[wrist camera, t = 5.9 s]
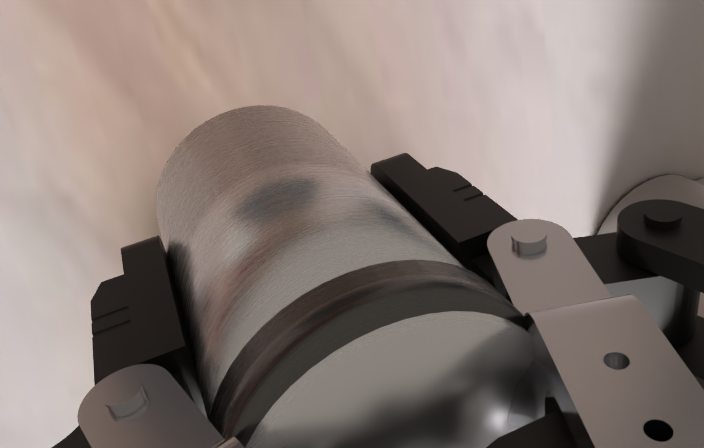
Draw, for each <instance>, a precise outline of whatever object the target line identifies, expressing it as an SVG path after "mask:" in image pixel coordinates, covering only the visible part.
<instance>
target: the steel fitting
mask: <svg viewBox="0 0 704 448" xmlns="http://www.w3.org/2000/svg"><path fill="white" fill-rule="evenodd" d="M156 213H157V220H158V225H159V229H160V233H161V237H162V241H163V245H164V248H165V250H166V253H167V257H168V261H169V264H170V268H171V272H172V276H173V280H174V284H175V288H176V292H177V296H178V300H179V304H180V308H181V312H182V315H183V319H184V323H185V327H186V331H187V335H188V339H189V343H190V347H191V351H192V355H193V359H194V363H195V366H196V370H197V374H198V379H199V387H200V391H201V395H202V399H203V403H204V407H205V411H206V415H207V419H208V420H209V421H210V423H211V424H212V425H213V426H214V427H215V429H216V430H217V431H218V432H219V433H220V435H221V436H222V437H223V438H224V439H225V440H226V439H227V438H228V437H230V436H233V437H235V438H236V439H237V440H238V441H239V442H240V443H241V444H242V445H243V446H244V447H245V448H486V447H487V446H488V445H490V444H491V443H492V442H493V441H495V440H496V439H497V438H499V437H501V436H503V435H505V434H507V433H509V432H512V431H514V430H516V429H518V428H520V427H522V426H525V425H527V424H529V423H531V422H533V421H535V397H534V369H533V341H532V336H531V335H530V334H529V333H528V331H527V320H526V319H525V318H524V315H523V314H522V313H521V312H520V311H519V310H518V309H517V308H516V307H515V306H514V305H513V304H512V303H511V302H510V301H509V300H508V299H507V298H506V297H505V296H504V295H503V294H501V293H500V292H499V291H498V290H497V289H496V288H495V287H494V286H493V285H492V284H490V283H489V282H488V281H487V280H486V279H484V278H482V277H481V276H479V275H477V274H476V273H474V272H472V271H470V270H467V269H466V268H465V267H464V266H463V265H462V264H461V263H460V262H459V261H458V260H457V259H456V258H455V257H454V256H453V255H452V254H451V253H450V252H449V251H448V250H447V249H446V248H445V247H444V246H443V245H442V244H441V243H440V242H439V241H438V240H437V239H436V238H435V237H434V236H433V235H432V234H431V233H430V232H429V231H428V230H427V229H426V228H425V227H424V226H423V225H422V224H421V223H420V222H418V221H417V220H416V219H415V218H414V217H413V216H412V215H411V214H410V213H409V212H408V211H407V210H406V209H405V208H404V207H403V206H402V205H401V204H400V203H399V202H398V201H397V200H396V199H395V198H394V197H393V196H392V195H391V194H390V193H389V192H388V191H387V190H386V189H385V188H384V187H383V186H382V185H381V184H380V183H379V182H378V181H377V180H376V179H375V178H374V177H373V176H372V175H371V174H370V173H369V172H368V171H367V170H366V169H365V168H364V167H363V166H362V165H361V164H360V163H359V162H358V161H357V160H356V159H355V158H354V157H353V156H352V155H351V154H350V153H349V152H348V151H347V150H346V149H345V148H344V147H343V146H342V145H341V144H340V143H339V142H338V141H337V140H336V139H335V138H334V137H333V136H332V135H331V134H330V133H329V132H328V131H327V130H326V129H325V128H324V127H322V126H321V125H320V124H319V123H318V122H316V121H314V120H313V119H311V118H310V117H308V116H306V115H304V114H302V113H299V112H297V111H294V110H291V109H287V108H283V107H277V106H261V105H258V106H249V107H242V108H238V109H234V110H230V111H228V112H225V113H222V114H220V115H217V116H216V117H214V118H212V119H210V120H208V121H206V122H205V123H203V124H202V125H200V126H199V127H197V128H196V129H194V130H193V131H192V132H191V133H190V134H189V135H188V136H187V137H186V138H184V139H183V141H182V142H181V143H180V144H179V145H178V147H177V148H176V149H175V150H174V152H173V153H172V155H171V156H170V158H169V159H168V161H167V163H166V165H165V167H164V170H163V172H162V174H161V178H160V181H159V184H158V189H157V196H156Z"/></svg>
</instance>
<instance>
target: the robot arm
mask: <svg viewBox="0 0 704 448" xmlns="http://www.w3.org/2000/svg"><path fill="white" fill-rule="evenodd" d="M371 175H372V176H373V177H374V178H375V179H376V180H377V181H378V182H379V183H380V184H381V185H382V186H383V187H384V188H385V189H386V190H387V191H388V192H389V193H390V194H391V195H392V196H393V197H394V198H395V199H396V200H397V201H398V202H399V203H400V204H401V205H402V206H403V207H404V208H405V209H406V210H407V211H408V212H409V213H410V214H411V215H412V216H413V217H414V218H415V219H416V220H417V221H418V222H420V223H421V224H422V225H423V226H424V227H425V228H426V229H427V230H428V231H429V232H430V233H431V234H432V235H433V236H434V237H435V238H436V239H437V240H438V241H439V242H440V243H441V244H442V245H443V246H444V247H445V248H446V249H447V250H448V251H449V252H450V253H451V254H452V255H453V256H454V257H455V258H456V259H457V260H458V261H459V262H460V263H461V264H462V265H463V266H464V267H465V268H466V269H467V270H470V271H472V272H474V273H476V274H477V275H479V276H481V277H482V278H484V279H486V280H487V281H488V282H489V283H490V284H492V285H493V286H494V287H495V288H496V289H497V290H498V291H499V292H500V293H501V294H503V295H504V296H505V297H506V298H507V299H508V300H509V301H510V302H511V303H512V304H513V305H514V306H515V307H516V308H517V309H518V310H519V311H520V312H521V313H522V314H523V315H524V318H525V319H526V320H527V331H528V333H529V334H530V335H531V336H532V341H533V369H534V397H535V421H533V422H531V423H529V424H527V425H525V426H522V427H520V428H518V429H516V430H514V431H512V432H509V433H507V434H505V435H503V436H501V437H499V438H497V439H496V440H495V441H493V442H492V443H491V444H490V445H488V446H487V447H486V448H704V178H702V179H700V180H696V181H693V180H690V179H688V178H686V177H684V176H680V175H665V176H659V177H656V178H654V179H651V180H648V181H646V182H645V183H643V184H641V185H640V186H638V187H636V188H635V189H633V190H632V191H631V192H630V193H628V194H627V195H626V196H625V197H624V198H622V199H621V201H620V202H619V203H618V204H617V205H616V206H615V207H614V208H613V209H612V210H611V212H610V213H609V215H608V216H607V218H606V219H605V221H604V222H603V224H602V226H601V228H600V230H599V232H598V234H597V235H593V236H586V237H578V238H572V236H571V235H570V234H569V232H568V231H567V230H566V229H564V228H563V227H562V226H560V225H558V224H555V223H553V222H549V221H545V220H539V219H523V220H518V219H516V218H515V217H514V216H512V215H511V214H510V213H508V212H507V211H506V210H505V209H503V208H502V207H501V206H499V205H498V204H497V203H496V202H494V201H493V200H492V199H490V198H489V197H488V196H486V195H483V192H481V191H480V190H479V189H477V188H476V187H475V186H472V185H471V183H470V182H468V181H467V180H466V179H464V178H463V177H462V176H461V175H459V174H458V173H456V172H452V171H449V170H446V169H442V168H439V167H434V168H431V169H428V170H427V169H426V168H425V167H423V166H422V165H421V164H420V163H418V162H417V161H416V160H415V159H414V158H412V157H411V156H410V155H409V154H407V153H403V154H400V155H397V156H394V157H391V158H388V159H385V160H382V161H379V162H376V163H373V164H372V165H371ZM121 255H122V262H123V270H124V275H121V276H118V277H115V278H112V279H109V280H106V281H104V282H101V284H100V286H99V287H98V289H97V291H96V293H95V295H94V296H93V298H92V300H91V319H92V334H93V337H92V340H93V360H94V381H95V386H94V387H93V388H92V389H91V390H90V391H89V392H88V394H87V395H86V396H85V398H84V399H83V401H82V403H81V405H80V407H79V411H78V423H79V426H78V427H77V428H76V429H75V430H74V431H73V432H72V433H71V434H70V435H68V436H67V437H66V438H65V439H63V440H62V441H61V442H59V443H58V444H56V445H55V446H53V447H52V448H245V447H244V446H243V445H242V444H241V443H240V442H239V441H238V440H237V439H236V438H235V437H233V436H230V437H228V438H227V439H226V440H225V439H224V438H223V437H222V436H221V435H220V433H219V432H218V431H217V430H216V429H215V427H214V426H213V425H212V424H211V423H210V421H209V420H208V419H207V415H206V411H205V407H204V403H203V399H202V395H201V391H200V387H199V379H198V374H197V370H196V366H195V363H194V359H193V355H192V351H191V347H190V343H189V339H188V335H187V331H186V327H185V323H184V319H183V315H182V312H181V308H180V304H179V300H178V296H177V292H176V288H175V284H174V280H173V276H172V272H171V268H170V264H169V261H168V257H167V253H166V250H165V248H164V245H163V243H162V241H161V239H160V237H159V236H156V237H153V238H150V239H147V240H144V241H141V242H138V243H135V244H132V245H129V246H126V247H123V248H121Z"/></svg>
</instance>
